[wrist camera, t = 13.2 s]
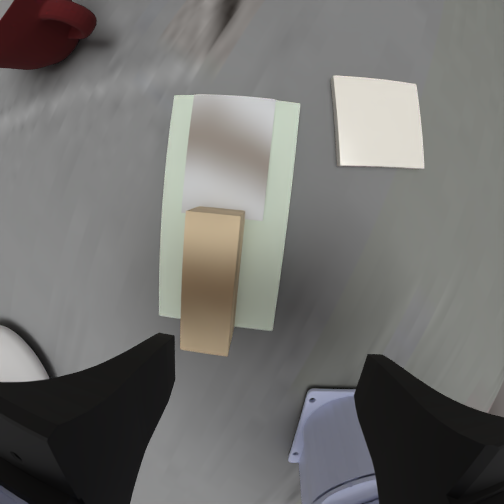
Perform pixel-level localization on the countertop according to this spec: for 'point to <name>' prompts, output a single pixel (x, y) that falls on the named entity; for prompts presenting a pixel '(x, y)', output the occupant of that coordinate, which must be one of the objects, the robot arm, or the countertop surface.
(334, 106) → the tile
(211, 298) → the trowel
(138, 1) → the countertop surface
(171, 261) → the mat
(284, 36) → the countertop surface
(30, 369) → the flower in vase
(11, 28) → the mug
